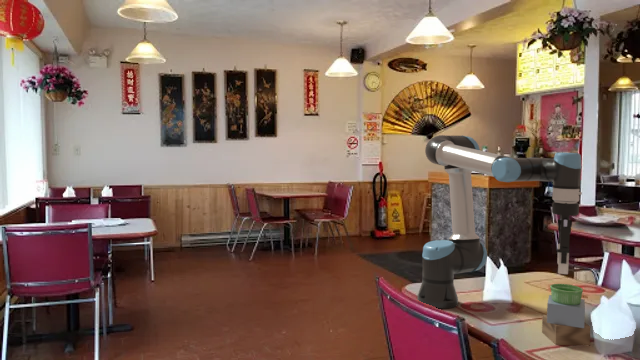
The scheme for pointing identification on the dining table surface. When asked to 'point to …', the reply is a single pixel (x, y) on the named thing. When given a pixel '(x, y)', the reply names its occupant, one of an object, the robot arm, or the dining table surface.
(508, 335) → the dining table surface
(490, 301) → the dining table surface
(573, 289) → the ramekin
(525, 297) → the dining table surface
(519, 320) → the dining table surface
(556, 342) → the walnut base block
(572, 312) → the slate-grey block
